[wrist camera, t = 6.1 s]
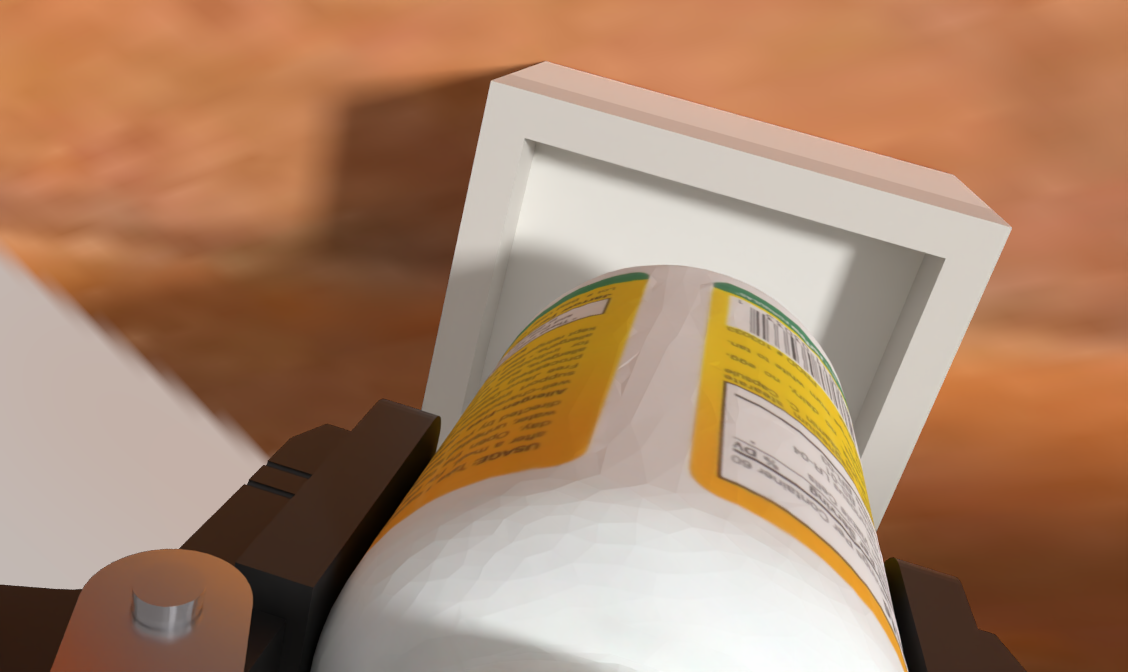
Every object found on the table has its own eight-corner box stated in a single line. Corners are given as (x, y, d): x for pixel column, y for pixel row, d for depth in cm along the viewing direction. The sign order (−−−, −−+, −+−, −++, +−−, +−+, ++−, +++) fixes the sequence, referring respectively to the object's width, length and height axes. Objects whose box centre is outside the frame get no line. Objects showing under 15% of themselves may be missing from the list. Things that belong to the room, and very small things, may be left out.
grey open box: (953, 174, 18) (1012, 227, 14) (808, 525, 21) (823, 650, 17) (545, 61, 18) (491, 80, 14) (463, 417, 21) (399, 513, 17)
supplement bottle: (880, 282, 13) (1169, 900, 4) (809, 602, 15) (906, 1488, 6) (504, 232, 14) (70, 666, 5) (482, 542, 16) (144, 1258, 7)
